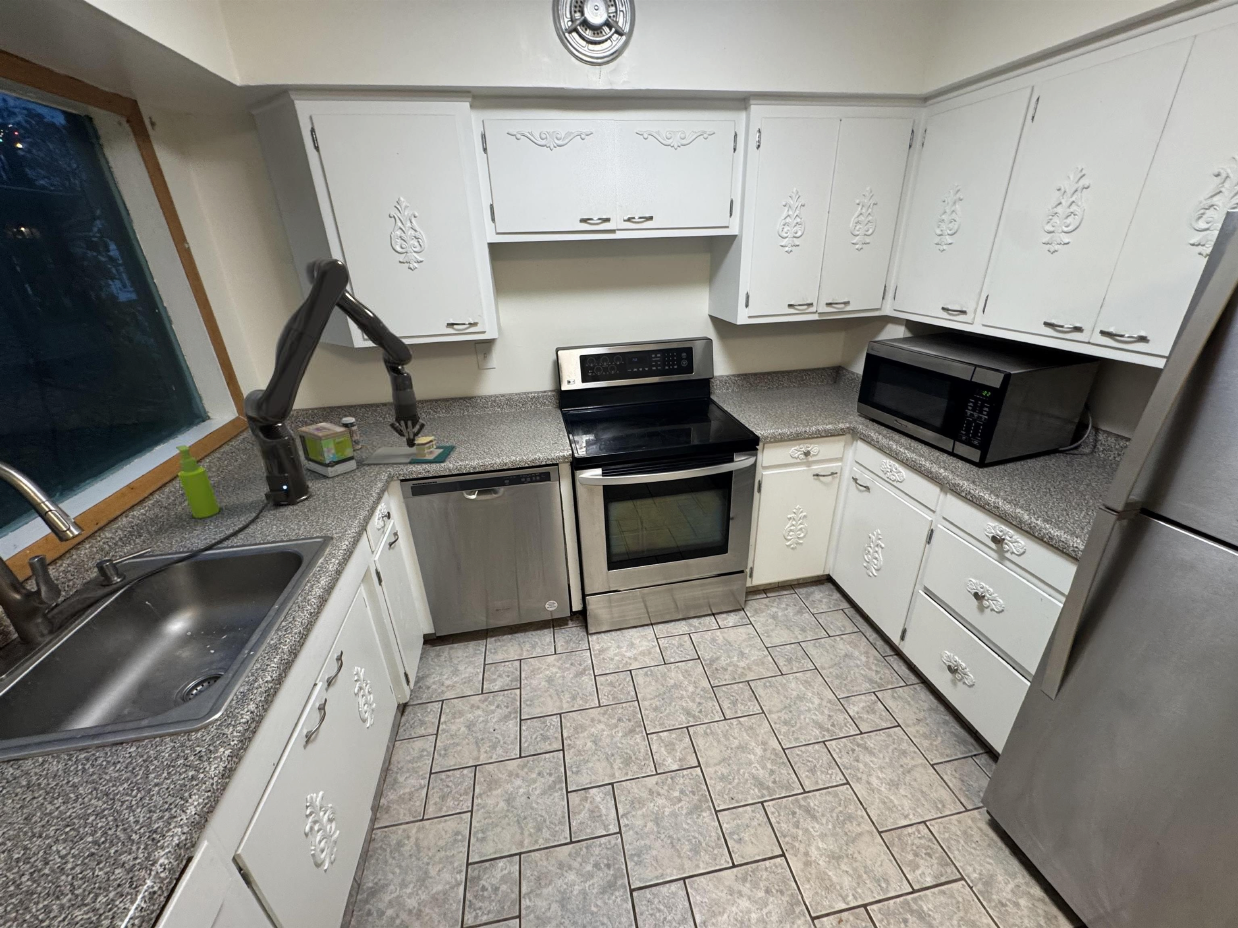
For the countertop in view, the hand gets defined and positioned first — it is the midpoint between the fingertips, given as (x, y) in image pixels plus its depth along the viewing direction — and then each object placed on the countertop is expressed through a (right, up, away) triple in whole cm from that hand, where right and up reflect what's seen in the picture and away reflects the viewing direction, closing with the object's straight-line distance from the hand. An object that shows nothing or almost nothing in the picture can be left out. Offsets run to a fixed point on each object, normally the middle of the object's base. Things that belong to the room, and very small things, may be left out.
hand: (411, 447), depth 184 cm
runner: (-1, -3, +1) cm, 3 cm away
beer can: (-25, -1, +8) cm, 27 cm away
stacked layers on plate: (+5, -3, +1) cm, 6 cm away
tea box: (-23, -8, -10) cm, 27 cm away
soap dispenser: (-43, -20, -40) cm, 62 cm away
